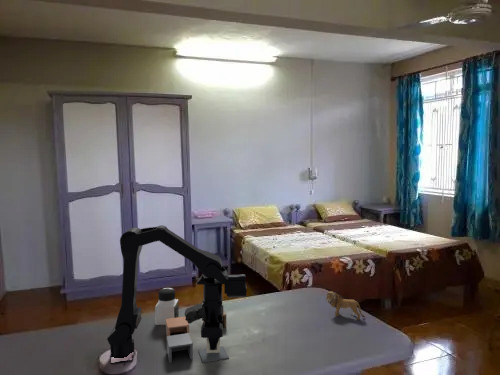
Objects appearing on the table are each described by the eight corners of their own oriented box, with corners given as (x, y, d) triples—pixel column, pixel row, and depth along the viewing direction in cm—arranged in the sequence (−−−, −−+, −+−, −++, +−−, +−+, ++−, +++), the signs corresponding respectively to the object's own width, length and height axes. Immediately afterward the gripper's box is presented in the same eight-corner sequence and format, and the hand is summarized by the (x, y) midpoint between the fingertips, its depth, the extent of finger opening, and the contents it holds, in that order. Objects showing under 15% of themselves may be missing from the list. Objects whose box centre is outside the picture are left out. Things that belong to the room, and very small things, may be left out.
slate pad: (202, 362, 117) (202, 361, 117) (198, 351, 124) (198, 350, 124) (228, 358, 120) (228, 357, 120) (223, 347, 126) (223, 346, 126)
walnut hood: (207, 330, 138) (206, 316, 138) (203, 322, 145) (203, 309, 145) (226, 327, 141) (226, 314, 140) (221, 319, 147) (221, 306, 147)
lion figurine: (325, 316, 151) (325, 293, 150) (326, 310, 156) (326, 288, 155) (365, 321, 146) (365, 297, 146) (365, 315, 152) (365, 292, 151)
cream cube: (206, 353, 120) (206, 340, 119) (207, 346, 124) (207, 334, 123) (219, 352, 120) (219, 340, 120) (220, 346, 124) (219, 333, 124)
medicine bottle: (174, 325, 142) (174, 293, 141) (155, 325, 143) (154, 293, 142) (178, 317, 150) (178, 286, 148) (160, 316, 150) (159, 286, 149)
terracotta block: (168, 342, 130) (167, 327, 130) (165, 332, 137) (165, 318, 136) (189, 339, 132) (189, 324, 132) (186, 330, 139) (185, 316, 138)
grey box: (169, 362, 117) (169, 346, 117) (166, 351, 124) (166, 336, 124) (192, 359, 120) (192, 343, 119) (189, 348, 126) (188, 333, 126)
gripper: (189, 287, 129) (189, 332, 131) (182, 310, 111) (183, 363, 112) (223, 286, 130) (223, 332, 131) (222, 309, 111) (222, 362, 113)
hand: (213, 346), depth 122 cm, fingers closed on cream cube, 4 cm apart
